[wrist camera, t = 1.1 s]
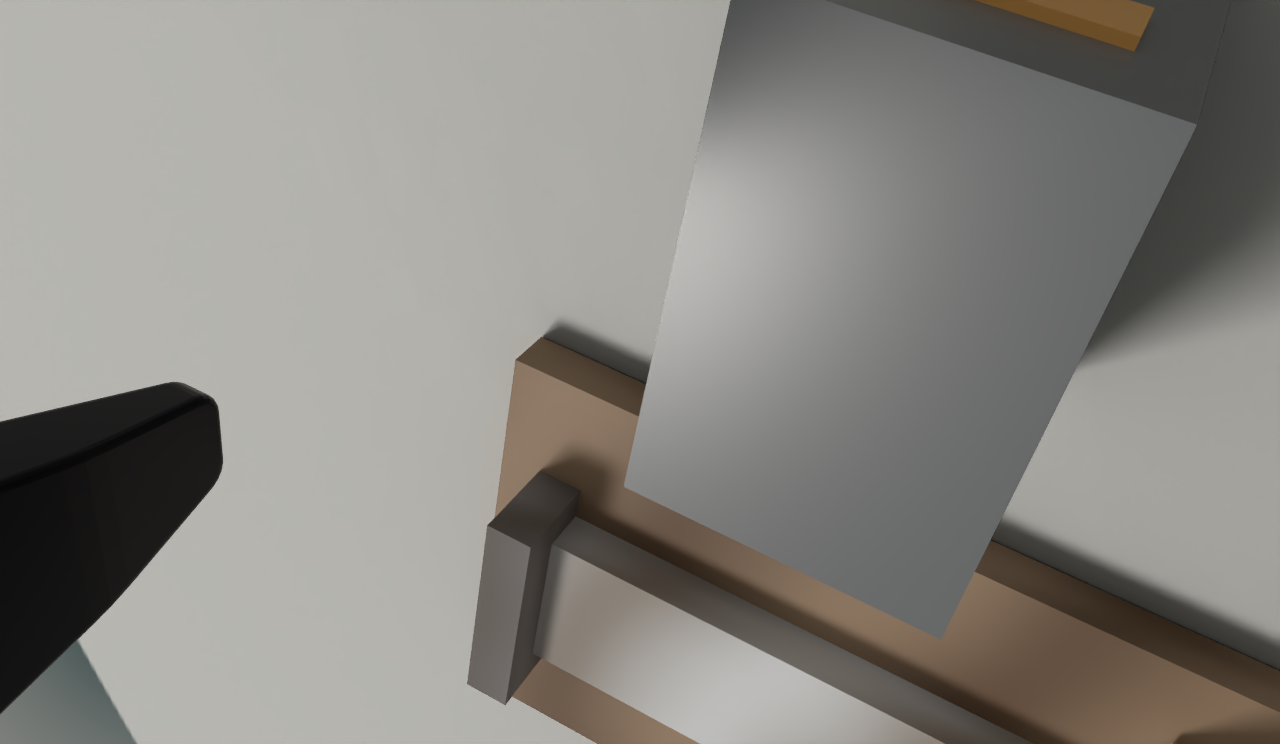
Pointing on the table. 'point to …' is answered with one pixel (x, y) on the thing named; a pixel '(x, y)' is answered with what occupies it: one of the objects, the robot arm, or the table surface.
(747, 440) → the block
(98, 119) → the table surface
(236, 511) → the table surface
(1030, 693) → the din panel
